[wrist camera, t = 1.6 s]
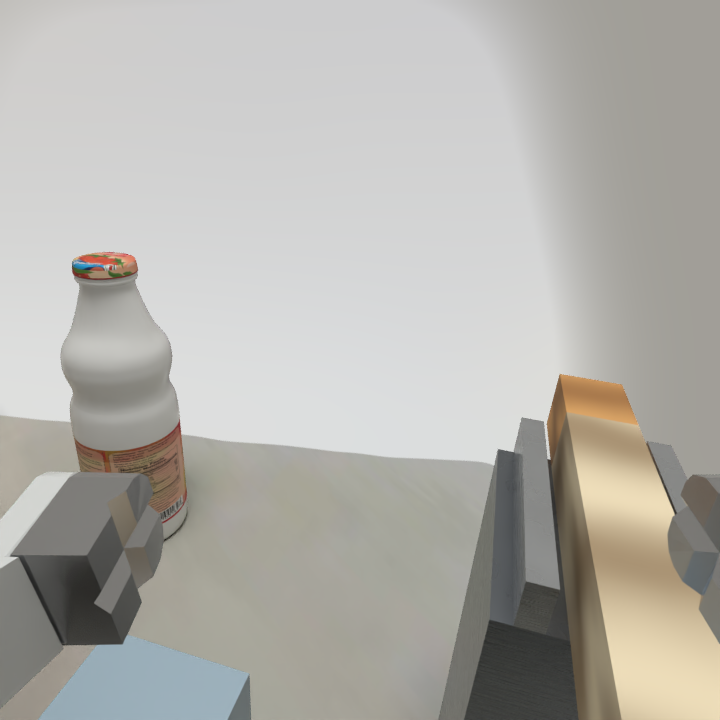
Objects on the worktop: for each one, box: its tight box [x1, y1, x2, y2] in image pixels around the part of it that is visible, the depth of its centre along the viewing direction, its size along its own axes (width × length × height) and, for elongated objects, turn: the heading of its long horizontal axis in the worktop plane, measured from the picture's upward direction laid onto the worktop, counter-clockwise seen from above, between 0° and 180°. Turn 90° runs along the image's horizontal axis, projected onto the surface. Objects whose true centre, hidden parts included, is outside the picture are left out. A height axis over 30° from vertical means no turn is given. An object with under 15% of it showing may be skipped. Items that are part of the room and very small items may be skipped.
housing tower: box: [439, 418, 688, 720], centre depth 27 cm, size 12×8×28 cm, turn 165°
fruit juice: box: [61, 252, 188, 539], centre depth 49 cm, size 9×9×28 cm
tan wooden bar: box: [547, 374, 720, 720], centre depth 18 cm, size 22×3×3 cm, turn 165°
